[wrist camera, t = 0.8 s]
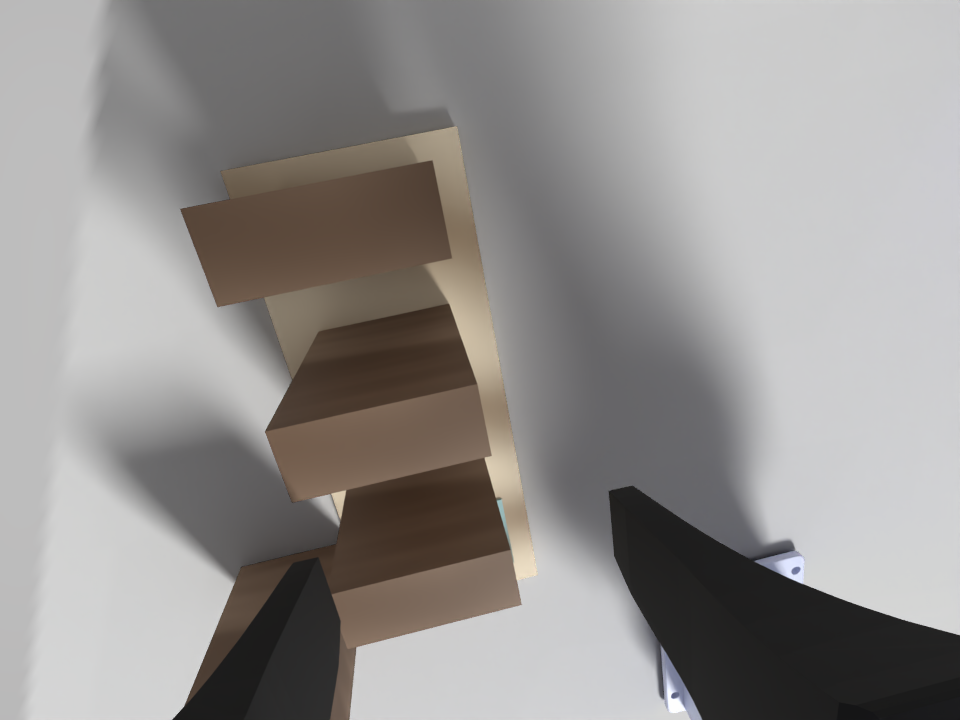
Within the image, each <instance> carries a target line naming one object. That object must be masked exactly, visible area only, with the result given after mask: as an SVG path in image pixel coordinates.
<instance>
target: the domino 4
mask: <svg viewBox="0 0 960 720" xmlns="http://www.w3.org/2000/svg"><path fill="white" fill-rule="evenodd" d="M335 549H336V544H335V545H331V546H326V547H322V548H318V549H314V550H310V551H306V552H302V553H298V554H293V555H289V556H285V557H281V558H277V559H273V560H269V561H265V562H261V563H256V564H252V565H248V566H244V567H241V569H240V571H239V574H238V576H237V579H236V581H235V584H234V586H233V589H232V591H231V593H230V596H229V598H228V601H227V603H226V606H225V608H224V611H223V613H222V615H221V618H220V620H219V623H218V625H217V628H216V630H215V633H214V635H213V637H212V640H211V642H210V645H209V647H208V650H207V652H206V655H205V657H204V659H203V662H202V664H201V667H200V669H199V672H198V674H197V677H196V679H195V681H194V684H193V686H192V689H191V691H190V694H189V696H188V699H187V701H186V703H185V705H186V704H187V703H188V702H189V701H190V700H191V698H192V697H193V696H194V695H195V694H196V693H197V691H198V690H199V689H200V688H201V687H202V686H203V684H204V683H205V682H206V681H207V680H208V678H209V677H210V676H211V675H212V673H213V672H214V671H215V669H216V668H217V667H218V666H219V664H220V663H221V662H222V661H223V659H224V658H225V657H226V655H227V654H228V653H229V652H230V650H231V649H232V648H233V646H234V645H235V644H236V643H237V641H238V640H239V638H240V637H241V636H242V634H243V633H244V632H245V630H246V629H247V627H248V626H249V625H250V623H251V622H252V620H253V619H254V618H255V616H256V615H257V613H258V612H259V611H260V609H261V608H262V606H263V605H264V603H265V602H266V601H267V599H268V598H269V596H270V595H271V593H272V592H273V590H274V589H275V587H276V586H277V585H278V583H279V582H280V580H281V579H282V577H283V576H284V575H285V573H286V572H287V570H288V569H289V568H290V566H291V565H292V563H294V562H298V561H303V560H307V559H312V558H316V557H319V560H320V563H321V566H322V568H323V571H324V574H325V577H326V580H327V583H328V586H329V583H330V577H331V571H332V566H333V560H334V555H335ZM355 655H356V647H355V648H351V649H347V646H346V643H345V641H344V638H343V636H342V633H341V630H340V653H339V667H338V674H337V680H336V687H335V693H334V699H333V705H332V711H331V717H330V720H349V717H350V707H351V697H352V686H353V676H354V666H355Z"/></svg>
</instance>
